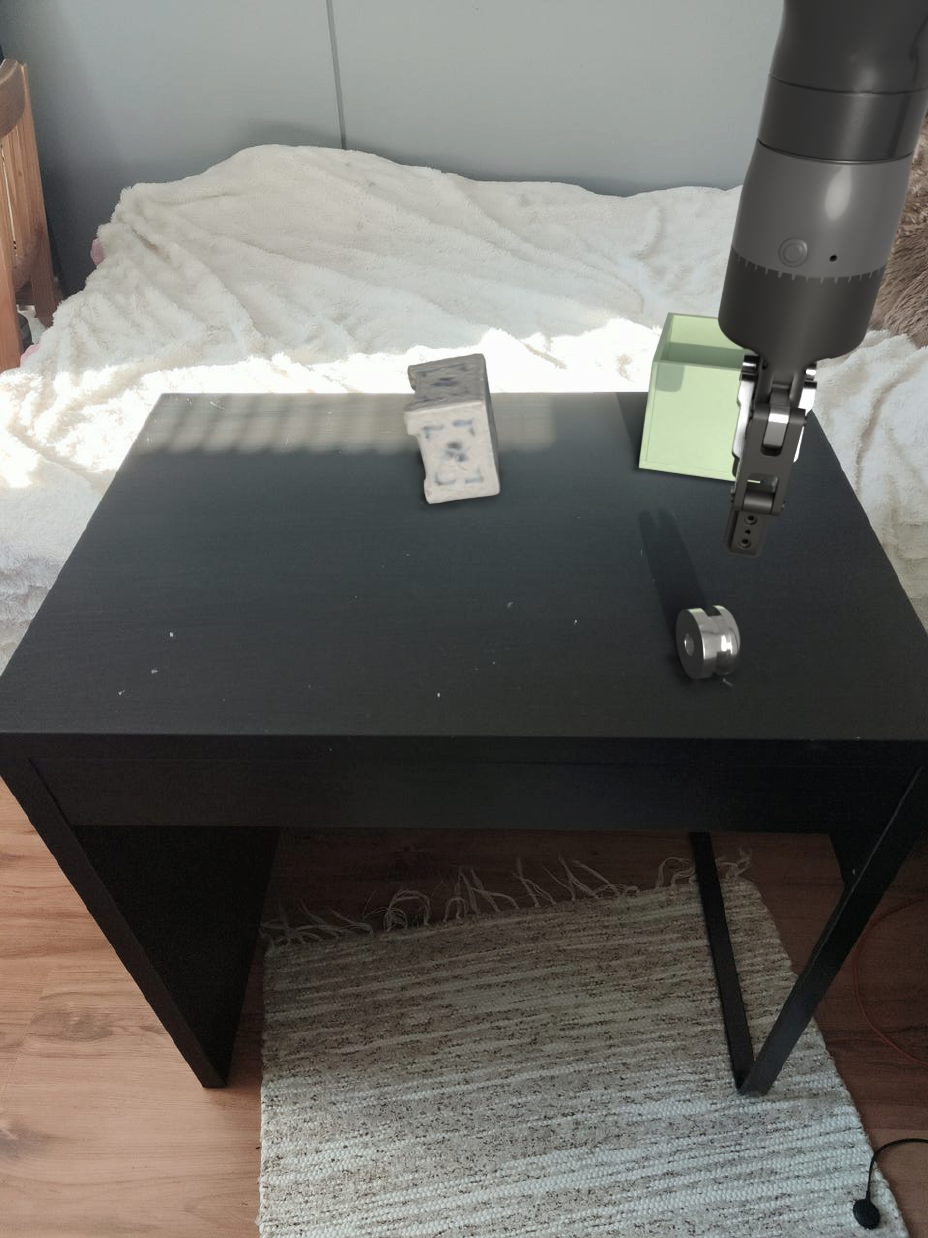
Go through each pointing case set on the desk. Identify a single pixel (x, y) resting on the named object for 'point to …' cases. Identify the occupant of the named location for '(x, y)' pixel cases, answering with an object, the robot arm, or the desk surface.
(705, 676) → the metal grooved wheel
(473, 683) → the desk surface
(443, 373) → the incense holder
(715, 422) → the waste bin
